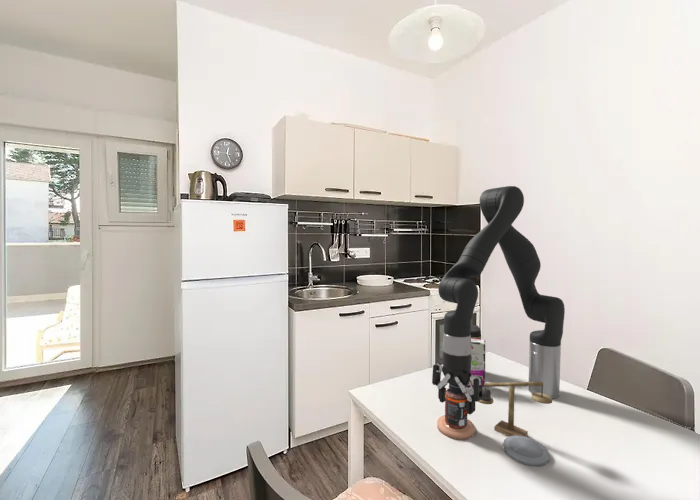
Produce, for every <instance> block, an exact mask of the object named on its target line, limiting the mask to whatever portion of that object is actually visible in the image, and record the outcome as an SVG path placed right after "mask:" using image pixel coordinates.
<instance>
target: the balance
mask: <svg viewBox="0 0 700 500" xmlns="http://www.w3.org/2000/svg"><path fill="white" fill-rule="evenodd" d="M484 386H485V387H483V398H482V399H481V400H479V401H478V402H477V403H481V404H483V405H492V404H494V398H493V397H492V390H491V388H492V387H499V388H500V387H501V388H502V387H508V409H507V410H508V412H507V415H508V418H507V419H508V420H507V421H508V422H507V421H505V420H502V419H501V420H499V422H497V423H496V424H495V425H494V427H493V428H494V429H493V430H494V431H495V432H496V433H497V432H498V433H499V434H502V435H504V436H506V437H509V436H524V437H528V435H529V433H528V432H529V431H528V430H526V429H524V428H522V427H519V426H517V425H515V423H514V422H515V397H516V395H515V394H516V392H515V390H516V389H515V387H528V386H542V389H541V393H531V399H532V400H533V401H534V402H537V403H539V404H544V405H546V404H547V405H551V404H552V403H553V399H554V398H552V397H550V396H549V395H546V394H543V382H529V381H513V382H510V381H509V382H508V381H507V382H485V383H484Z"/></svg>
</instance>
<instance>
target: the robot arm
mask: <svg viewBox="0 0 700 500" xmlns="http://www.w3.org/2000/svg"><path fill="white" fill-rule="evenodd" d="M524 196H525V195H524V193H523V192H522V190H521V189H520V187H518V186H515V185H508V186H507V185H506V186H500V187H494V188H490V189H489V188H488V189H485V190H483V192H481V194H480V197H479V208H480V211H481V213H482V215H483V217H484V218H485V221H486V222H487V225H485V226H484V228H482V229H481V230H480V231H479V232H478V233H476V234H475V235H474V236H473V237H472V238H471V239H470V240H469V242H467V244H466V245H465V247H464V249H463V250H462V253H461V255H460V257H459V259H458V261H457V262H456V263H454V265H453V266H452V267H451V268H450V269H449V270H448V271H447V272H446V273H445V274H444V275H443V276H442V279H441V280H440V282H439V284H438V290H437V291H438V295H439V298H440V299H441V300H444V301H446V302H448V303H453V304H456V308H455V310H449V311H447V312H446V313H445V314H444V315H443V317H444V318H443V337H442V363H441V362H438V363H435V364H433V366H432V375H431V376H432V377H431V384H432V385H433V386H436V387H437V390H438V392H437V393H438V395H437V397H438V400H439V402H440V403H442V404H443V403H445V393H446V390H447V388H446V386H448V385H449V384H452V385H455V386H457V387H459V388H461V390H462V392H463V393H464V394H465V395H466V397H467V399H468V401H467V415H469V416H471V415H472V414H473V413H475V411H476V403H479V402H478V401H479V400H481V399H482V398H483V387H482V377H480V376H479V377H474V376H472V375H471V373H470V370H471V325H472V324H471V322H472V317H473V314H474V311H475V308H476V305H477V302H478V301H477V300H478V298H479V289H478V286H477V284H476V283H475V281H473V280H472V278H477V277H479V276H480V275H481V274H482V273H483V272H484V269H485V267H486V265H487V263H488V262H489V260H490V257H491V255H492V253H493V252H494V249H495V247H496V246H497V245H499V247H500V249H501V251H502V254H503V256H504V259H505V262H506V264H507V267H508V268H509V271H510V273H511V274H512V276H513V280H514V282H515V285H516V287H517V290H518V293H519V297H520V300H521V304H522V306H523V307H522V308H523V310H524V313H525V314H526V317H528V318H529V319H530V320H533V321H536V322H540V323H543V324H544V328H543V329H540V330H533V331H531V332H530V334H529V348H528V349H529V352H528V355H529V357H528V382H543V394H546V395H549V396H550V397H552V399H555V398H556V399H557V398H559V396H560V383H561V350H562V348H561V347H562V338H563V334H564V324H565V313H566V312H565V311H566V308H565V303H564V301H563V299H561V298H560V297H558V296H557V297H556V296H552V295H551V296H550V295H545V294H540V293H539V291H538V290H537V287H536V285H535V283H536V279H537V277H538V276H539V272H540V270H541V259H540V258H539V256H538V255H539V254H538V252H537V250H536V248H535V245H534V244H533V243H532V242H531V241H530V240H529V239H528V238H527V237H525V235H523V234H522V233H521V232H519V230H517V228H515V227H514V226H513V223H514V222H515V221H516V219H517V218H518V216H519V215H520V213H522V210H523V207H524V203H525V197H524ZM442 374H443V376H444V377H443V378H442V379H441V377H442ZM470 380H471V381H472V385H473V386H474V388H473V387H472V385H471V383H470V382H469V381H470ZM465 386H467V387H465ZM527 387H528V391H529V393H531V394H533V393H541V389H542V386H527Z"/></svg>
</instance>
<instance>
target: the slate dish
mask: <svg viewBox="0 0 700 500" xmlns="http://www.w3.org/2000/svg"><path fill="white" fill-rule="evenodd" d="M503 450H504V453H505V454H506V455H507V456H509V457H510V459H513V460H514V461H516V462H518V463H521V464H522V465H526V466H530V467H542V466H546V464H548V463H549V462H550V461H549V460H550V451H549V449H548V448H547V447H546V446H545V445H543V444H542V443H541V442H539V441H537V440H536V439H534V438H531V437H528V436H527V437H524V436H509V437H508V436H506V437H505V439H503Z"/></svg>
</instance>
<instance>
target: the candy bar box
mask: <svg viewBox="0 0 700 500" xmlns="http://www.w3.org/2000/svg"><path fill="white" fill-rule="evenodd" d="M470 373H471V375H472V376H474V377H479V376H480V377H482V387H485V386H484V383H486V339H482V338H481V339H471V370H470ZM469 382H470V383H471V385H472V381H471V380H470V381H469ZM472 387H473V389H474V386H473V385H472ZM465 388H467V386H465Z"/></svg>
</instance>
